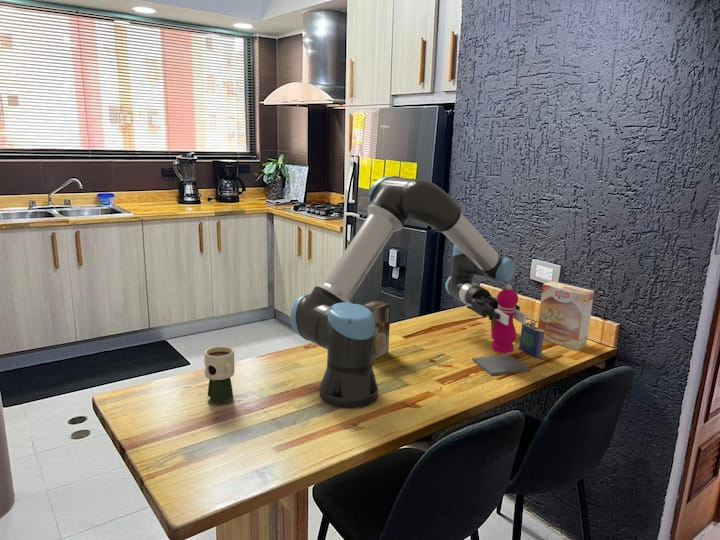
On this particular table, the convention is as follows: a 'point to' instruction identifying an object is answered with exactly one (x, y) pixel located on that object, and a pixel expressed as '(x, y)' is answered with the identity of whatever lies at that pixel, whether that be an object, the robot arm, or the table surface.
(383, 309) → the coffee box
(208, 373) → the character mug
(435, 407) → the table surface
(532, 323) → the flask
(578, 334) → the coffeecake box
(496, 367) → the charcoal mat
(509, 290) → the pepper mill
